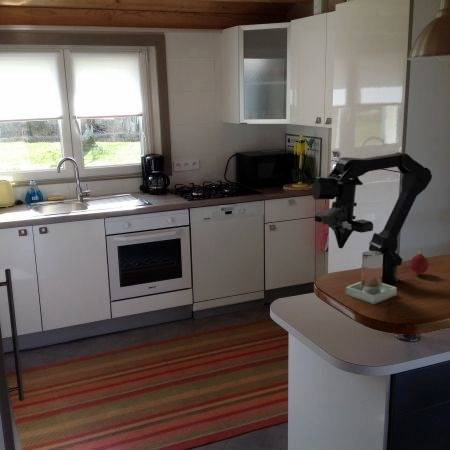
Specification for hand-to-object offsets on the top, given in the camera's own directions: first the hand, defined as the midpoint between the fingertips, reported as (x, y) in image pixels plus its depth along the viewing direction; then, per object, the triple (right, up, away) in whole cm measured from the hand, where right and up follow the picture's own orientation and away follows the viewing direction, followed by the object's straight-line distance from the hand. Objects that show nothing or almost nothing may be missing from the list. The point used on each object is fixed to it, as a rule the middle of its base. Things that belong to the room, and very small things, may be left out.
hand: (340, 248), depth 170 cm
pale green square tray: (+9, -14, -3) cm, 17 cm away
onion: (+29, -10, +12) cm, 32 cm away
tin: (+9, -14, -4) cm, 16 cm away
